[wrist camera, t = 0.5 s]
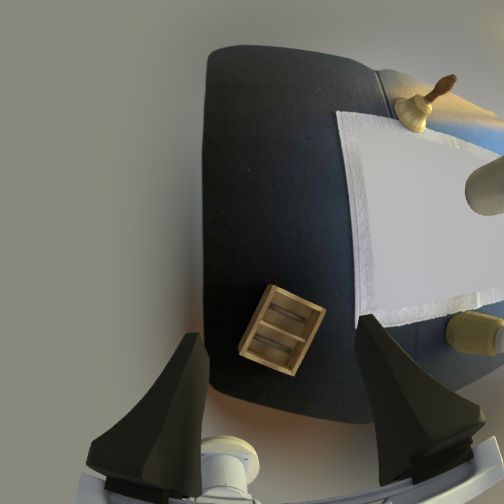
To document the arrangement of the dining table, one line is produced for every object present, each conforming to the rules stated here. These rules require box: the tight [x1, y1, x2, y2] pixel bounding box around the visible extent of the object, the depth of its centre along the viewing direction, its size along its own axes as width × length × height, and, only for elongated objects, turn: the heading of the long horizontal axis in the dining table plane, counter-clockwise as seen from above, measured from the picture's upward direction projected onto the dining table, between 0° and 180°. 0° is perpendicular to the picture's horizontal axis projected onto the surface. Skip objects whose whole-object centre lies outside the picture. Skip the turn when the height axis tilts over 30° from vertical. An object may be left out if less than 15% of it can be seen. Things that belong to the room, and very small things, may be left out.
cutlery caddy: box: [238, 284, 326, 376], centre depth 37 cm, size 8×10×4 cm
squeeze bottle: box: [446, 311, 504, 356], centre depth 33 cm, size 8×8×18 cm
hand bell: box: [394, 74, 457, 132], centre depth 37 cm, size 8×8×16 cm
